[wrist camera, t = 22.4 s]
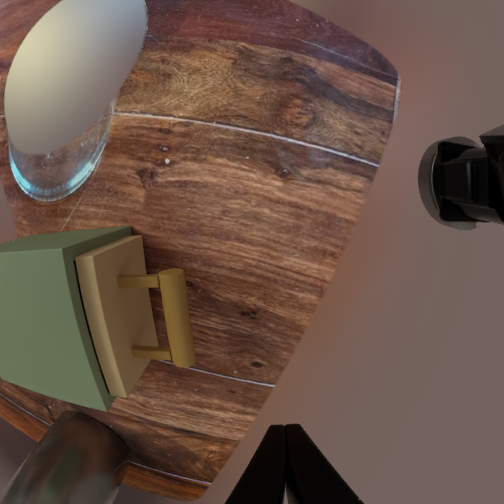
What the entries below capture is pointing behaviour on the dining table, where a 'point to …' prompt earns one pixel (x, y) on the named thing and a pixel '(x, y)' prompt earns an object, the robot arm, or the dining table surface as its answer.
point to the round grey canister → (71, 465)
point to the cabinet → (50, 317)
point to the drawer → (131, 312)
